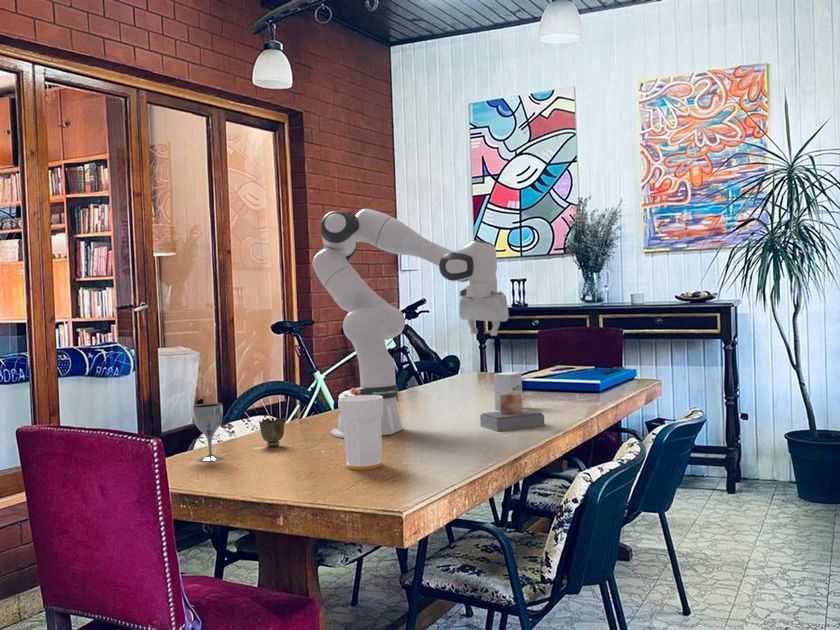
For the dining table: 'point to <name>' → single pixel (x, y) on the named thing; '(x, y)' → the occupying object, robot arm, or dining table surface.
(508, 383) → the supplement box
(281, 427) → the cup
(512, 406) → the terracotta block
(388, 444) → the dining table surface
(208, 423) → the wine glass
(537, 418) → the plinth
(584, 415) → the dining table surface
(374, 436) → the cup
